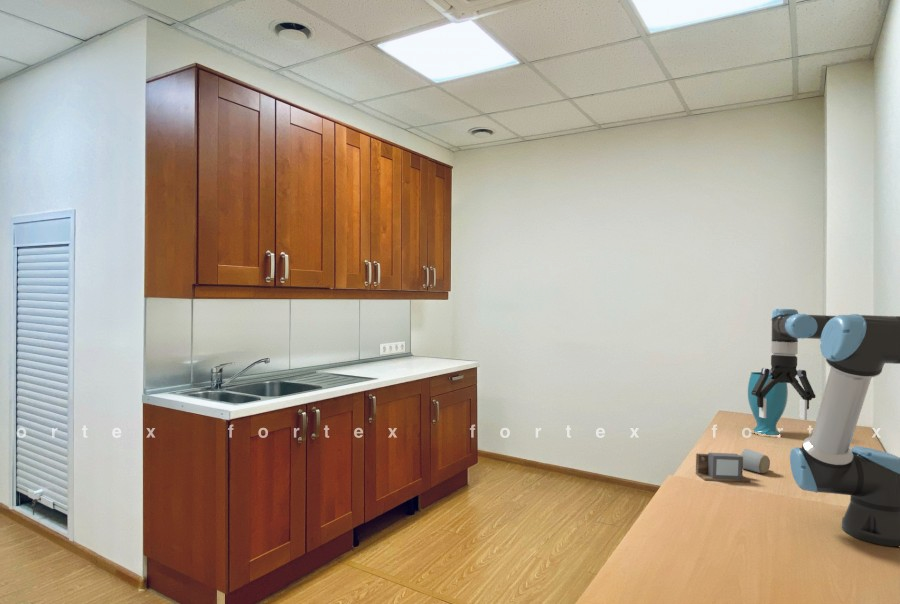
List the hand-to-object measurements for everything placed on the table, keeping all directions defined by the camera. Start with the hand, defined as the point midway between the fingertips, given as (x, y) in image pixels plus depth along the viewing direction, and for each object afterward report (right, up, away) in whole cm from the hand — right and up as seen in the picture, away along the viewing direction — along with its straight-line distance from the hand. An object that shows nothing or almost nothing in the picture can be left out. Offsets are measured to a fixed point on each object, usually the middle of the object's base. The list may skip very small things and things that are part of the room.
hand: (782, 418), depth 181 cm
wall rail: (-13, -25, +15) cm, 32 cm away
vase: (+46, -27, +89) cm, 104 cm away
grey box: (-13, -24, +14) cm, 30 cm away
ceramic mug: (+6, -26, +26) cm, 37 cm away
